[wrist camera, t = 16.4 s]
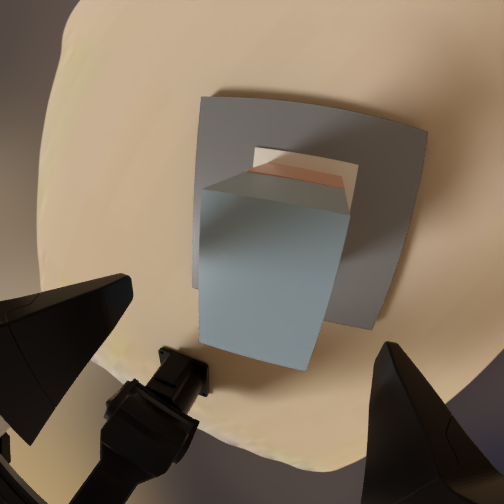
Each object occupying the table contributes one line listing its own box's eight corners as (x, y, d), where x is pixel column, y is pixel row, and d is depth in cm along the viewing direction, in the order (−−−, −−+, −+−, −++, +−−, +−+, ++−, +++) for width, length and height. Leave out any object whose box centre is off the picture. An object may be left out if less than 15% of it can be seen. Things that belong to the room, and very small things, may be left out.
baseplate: (371, 323, 22) (372, 331, 21) (197, 282, 25) (191, 288, 24) (423, 132, 15) (429, 131, 14) (207, 98, 18) (199, 96, 17)
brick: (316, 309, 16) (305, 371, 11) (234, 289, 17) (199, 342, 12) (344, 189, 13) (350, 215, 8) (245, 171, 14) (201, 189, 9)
